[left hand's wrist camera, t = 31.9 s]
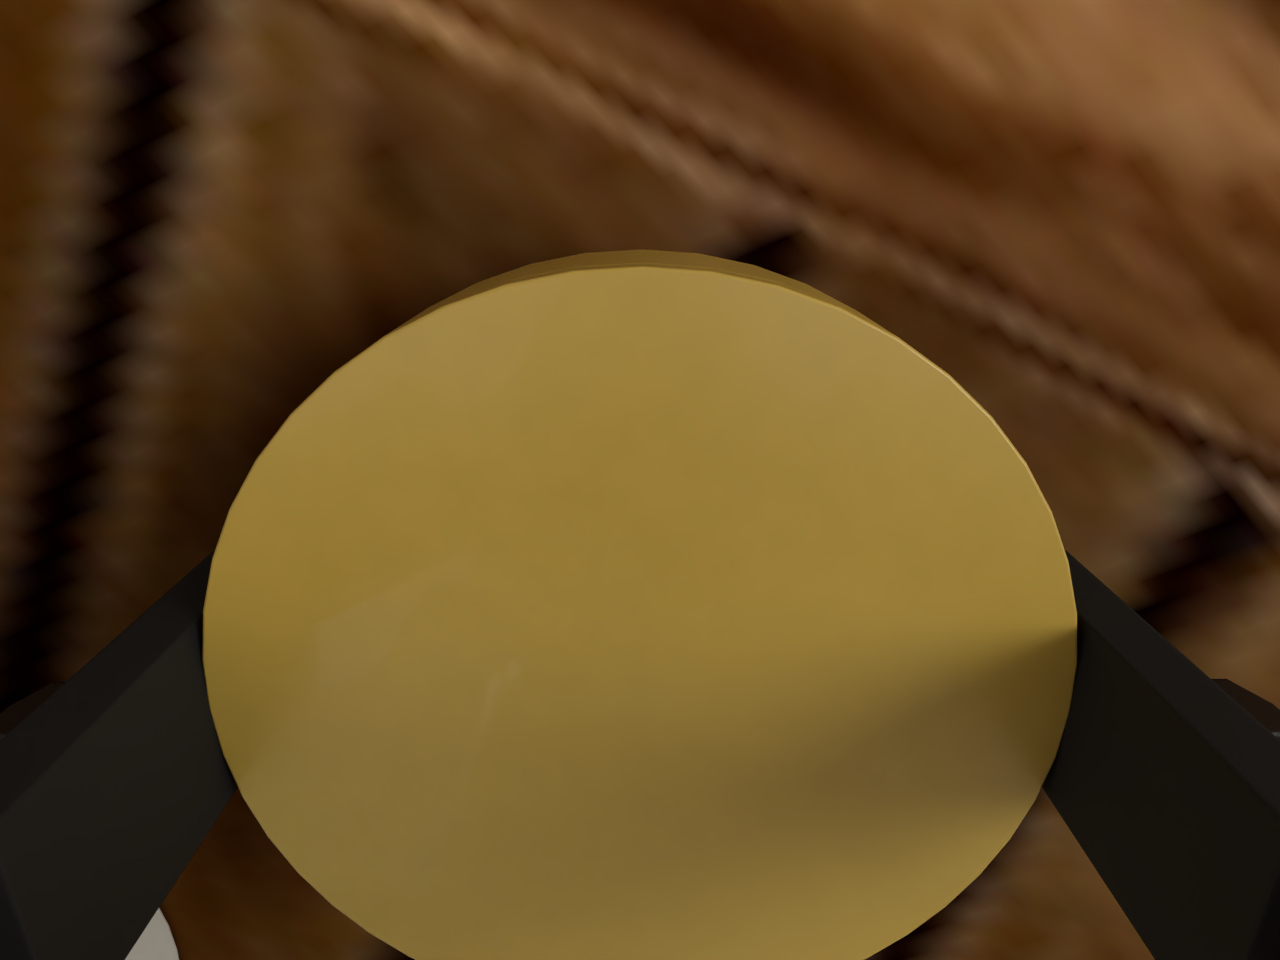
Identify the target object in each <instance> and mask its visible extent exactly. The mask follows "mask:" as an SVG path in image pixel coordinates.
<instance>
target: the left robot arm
mask: <svg viewBox="0 0 1280 960" xmlns="http://www.w3.org/2000/svg"><path fill="white" fill-rule="evenodd" d="M1064 550H1065V549H1064ZM214 552H215V550H214V551H213V552H212V553H211V554H210V555H209V556H207V557H206V558H205V559H204V560H203V561H202V562H201V563H200V564H198V565H197V566H196V567H195V568H194V569H193V570H192V571H191V572H189V573H188V574H187V575H186V576H185V577H184V578H183V579H182V580H180V581H179V582H178V583H177V584H176V585H175V586H174V587H173V588H171V589H170V590H169V591H168V592H167V593H166V594H165V595H164V596H162V597H161V598H160V599H159V600H158V601H157V602H156V603H154V604H153V605H152V606H151V607H150V608H149V609H148V610H147V611H145V612H144V613H143V614H142V615H141V616H140V617H139V618H138V619H136V620H135V621H134V622H133V623H132V624H131V625H130V626H129V627H127V628H126V629H125V630H124V631H123V632H122V633H121V634H120V635H118V636H117V637H116V638H115V639H114V640H113V641H112V642H111V643H109V644H108V645H107V646H106V647H105V648H104V649H103V650H102V651H100V652H99V653H98V654H97V655H96V656H95V657H94V658H93V659H91V660H90V661H89V662H88V663H87V664H86V665H85V666H84V667H82V668H81V669H80V670H79V671H78V672H77V673H76V674H75V675H73V676H72V677H71V678H70V679H69V680H68V681H67V682H53V683H51V684H49V685H47V686H45V687H44V688H42V689H40V690H38V691H36V692H34V693H33V694H31V695H29V696H27V697H25V698H23V699H22V700H20V701H18V702H16V703H14V704H12V705H11V706H9V707H8V708H6V709H5V710H4V711H3V712H2V713H1V714H0V960H125V959H126V957H127V956H128V954H129V953H130V951H131V950H132V948H133V947H134V945H135V944H136V942H137V940H138V939H139V937H140V936H141V934H142V933H143V931H144V930H145V928H146V927H147V925H148V924H149V922H150V921H151V919H152V918H153V916H154V914H155V913H156V911H157V910H158V908H159V907H160V905H161V904H162V902H163V901H164V899H165V898H166V896H167V895H168V893H169V892H170V890H171V889H172V887H173V885H174V884H175V882H176V881H177V879H178V878H179V876H180V875H181V873H182V872H183V870H184V869H185V867H186V866H187V864H188V863H189V861H190V859H191V858H192V856H193V855H194V853H195V852H196V850H197V849H198V847H199V846H200V844H201V843H202V841H203V840H204V838H205V837H206V835H207V834H208V832H209V830H210V829H211V827H212V826H213V824H214V823H215V821H216V820H217V818H218V817H219V815H220V814H221V812H222V811H223V809H224V808H225V806H226V805H227V803H228V801H229V800H230V798H231V797H232V795H233V794H234V792H235V791H236V789H237V788H238V786H237V784H236V782H235V779H234V777H233V775H232V773H231V771H230V769H229V766H228V764H227V762H226V760H225V758H224V756H223V753H222V750H221V746H220V743H219V740H218V736H217V733H216V729H215V726H214V723H213V719H212V715H211V711H210V706H209V701H208V696H207V689H206V682H205V675H204V668H203V661H202V654H203V608H204V602H205V597H206V591H207V585H208V580H209V574H210V568H211V563H212V558H213V555H214ZM1065 553H1066V556H1067V559H1068V562H1069V568H1070V574H1071V580H1072V586H1073V592H1074V598H1075V604H1076V611H1077V667H1076V674H1075V681H1074V687H1073V694H1072V699H1071V704H1070V709H1069V714H1068V718H1067V722H1066V725H1065V729H1064V732H1063V735H1062V738H1061V742H1060V745H1059V748H1058V751H1057V754H1056V757H1055V760H1054V762H1053V764H1052V766H1051V768H1050V770H1049V772H1048V774H1047V776H1046V779H1045V781H1044V783H1043V785H1042V788H1043V789H1044V791H1045V792H1046V794H1047V795H1048V797H1049V798H1050V800H1051V801H1052V803H1053V804H1054V806H1055V807H1056V809H1057V810H1058V812H1059V813H1060V815H1061V817H1062V818H1063V820H1064V821H1065V823H1066V824H1067V826H1068V827H1069V829H1070V830H1071V832H1072V833H1073V835H1074V836H1075V838H1076V839H1077V841H1078V842H1079V844H1080V846H1081V847H1082V849H1083V850H1084V852H1085V853H1086V855H1087V856H1088V858H1089V859H1090V861H1091V862H1092V864H1093V865H1094V867H1095V868H1096V870H1097V872H1098V873H1099V875H1100V876H1101V878H1102V879H1103V881H1104V882H1105V884H1106V885H1107V887H1108V888H1109V890H1110V891H1111V893H1112V894H1113V896H1114V897H1115V899H1116V901H1117V902H1118V904H1119V905H1120V907H1121V908H1122V910H1123V911H1124V913H1125V914H1126V916H1127V917H1128V919H1129V920H1130V922H1131V923H1132V925H1133V927H1134V928H1135V930H1136V931H1137V933H1138V934H1139V936H1140V937H1141V939H1142V940H1143V942H1144V943H1145V945H1146V946H1147V948H1148V949H1149V951H1150V952H1151V954H1152V956H1153V957H1154V959H1155V960H1280V710H1279V709H1278V708H1277V707H1276V706H1274V705H1273V704H1272V703H1270V702H1268V701H1266V700H1265V699H1263V698H1261V697H1259V696H1257V695H1255V694H1254V693H1252V692H1250V691H1248V690H1246V689H1244V688H1242V687H1241V686H1239V685H1237V684H1235V683H1233V682H1231V681H1230V680H1228V679H1210V678H1209V677H1208V676H1207V675H1206V674H1205V673H1203V672H1202V671H1201V670H1200V669H1199V668H1198V667H1197V666H1195V665H1194V664H1193V663H1192V662H1191V661H1190V660H1189V659H1188V658H1186V657H1185V656H1184V655H1183V654H1182V653H1181V652H1180V651H1179V650H1177V649H1176V648H1175V647H1174V646H1173V645H1172V644H1171V643H1170V642H1168V641H1167V640H1166V639H1165V638H1164V637H1163V636H1162V635H1161V634H1159V633H1158V632H1157V631H1156V630H1155V629H1154V628H1153V627H1152V626H1150V625H1149V624H1148V623H1147V622H1146V621H1145V620H1144V619H1143V618H1141V617H1140V616H1139V615H1138V614H1137V613H1136V612H1135V611H1134V610H1132V609H1131V608H1130V607H1129V606H1128V605H1127V604H1126V603H1125V602H1123V601H1122V600H1121V599H1120V598H1119V597H1118V596H1117V595H1115V594H1114V593H1113V592H1112V591H1111V590H1110V589H1109V588H1108V587H1106V586H1105V585H1104V584H1103V583H1102V582H1101V581H1100V580H1099V579H1097V578H1096V577H1095V576H1094V575H1093V574H1092V573H1091V572H1090V571H1088V570H1087V569H1086V568H1085V567H1084V566H1083V565H1082V564H1081V563H1079V562H1078V561H1077V560H1076V559H1075V558H1074V557H1073V556H1072V555H1070V554H1069V553H1068V552H1067V551H1066V550H1065Z"/></svg>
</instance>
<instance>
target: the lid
mask: <svg viewBox="0 0 1280 960" xmlns="http://www.w3.org/2000/svg"><path fill="white" fill-rule="evenodd" d="M202 661H203V668H204V675H205V682H206V689H207V696H208V701H209V706H210V711H211V715H212V719H213V723H214V726H215V729H216V733H217V736H218V740H219V743H220V746H221V750H222V753H223V756H224V758H225V760H226V762H227V764H228V766H229V769H230V771H231V773H232V775H233V777H234V779H235V782H236V784H237V786H238V788H239V790H240V792H241V795H242V797H243V798H244V800H245V802H246V803H247V805H248V806H249V808H250V809H251V811H252V813H253V814H254V816H255V817H256V819H257V820H258V822H259V824H260V825H261V827H262V828H263V830H264V831H265V833H266V835H267V836H268V838H269V839H270V840H271V841H272V842H273V844H274V845H275V846H276V847H277V848H278V850H279V851H280V852H281V853H282V854H283V856H284V857H285V858H286V859H287V860H288V862H289V863H290V864H291V865H292V866H293V868H294V869H295V870H296V871H297V872H298V873H299V874H300V875H301V876H302V877H303V878H304V879H305V880H306V881H307V882H308V883H309V884H310V885H311V886H312V887H313V888H315V889H316V890H317V891H318V892H319V893H320V894H321V895H322V896H323V897H324V898H325V899H326V900H327V901H328V902H329V903H330V904H332V905H333V906H334V907H335V908H337V909H338V910H339V911H341V912H342V913H343V914H345V915H346V916H347V917H349V918H350V919H351V920H353V921H354V922H355V923H357V924H358V925H359V926H361V927H362V928H363V929H365V930H366V931H367V932H369V933H370V934H372V935H374V936H375V937H377V938H379V939H380V940H382V941H384V942H385V943H387V944H389V945H391V946H392V947H394V948H396V949H397V950H399V951H401V952H402V953H404V954H406V955H407V956H409V957H411V958H413V959H415V960H864V959H867V958H868V957H870V956H872V955H873V954H875V953H877V952H879V951H880V950H882V949H884V948H885V947H887V946H889V945H891V944H892V943H894V942H896V941H897V940H899V939H901V938H903V937H904V936H906V935H908V934H909V933H910V932H912V931H913V930H914V929H916V928H917V927H919V926H920V925H921V924H923V923H924V922H925V921H927V920H928V919H929V918H931V917H932V916H933V915H935V914H936V913H938V912H939V911H940V910H942V909H943V908H944V907H946V906H947V905H948V904H949V903H950V902H951V901H952V900H953V899H954V898H955V897H956V896H957V895H958V894H960V893H961V892H962V891H963V890H964V889H965V888H966V887H967V886H968V885H969V884H970V883H971V882H972V881H974V880H975V879H976V878H977V877H978V876H979V875H980V874H981V873H982V871H983V870H984V869H985V868H986V867H987V866H988V864H989V863H990V862H991V861H992V860H993V858H994V857H995V856H996V855H997V854H998V853H999V851H1000V850H1001V849H1002V848H1003V847H1004V846H1005V844H1006V843H1007V842H1008V841H1009V840H1010V838H1011V837H1012V835H1013V834H1014V832H1015V831H1016V829H1017V827H1018V826H1019V824H1020V823H1021V821H1022V820H1023V818H1024V817H1025V815H1026V814H1027V812H1028V810H1029V809H1030V807H1031V806H1032V804H1033V803H1034V801H1035V800H1036V798H1037V796H1038V793H1039V791H1040V789H1041V787H1042V785H1043V783H1044V781H1045V779H1046V776H1047V774H1048V772H1049V770H1050V768H1051V766H1052V764H1053V762H1054V760H1055V757H1056V754H1057V751H1058V748H1059V745H1060V742H1061V738H1062V735H1063V732H1064V729H1065V725H1066V722H1067V718H1068V714H1069V709H1070V704H1071V699H1072V694H1073V687H1074V681H1075V674H1076V667H1077V611H1076V604H1075V598H1074V592H1073V586H1072V580H1071V574H1070V568H1069V562H1068V559H1067V556H1066V553H1065V550H1064V547H1063V544H1062V541H1061V538H1060V535H1059V532H1058V529H1057V526H1056V523H1055V520H1054V517H1053V514H1052V511H1051V509H1050V507H1049V505H1048V503H1047V501H1046V500H1045V498H1044V496H1043V494H1042V492H1041V490H1040V488H1039V486H1038V484H1037V482H1036V480H1035V479H1034V477H1033V475H1032V473H1031V471H1030V469H1029V467H1028V465H1027V463H1026V462H1025V460H1024V459H1023V458H1022V456H1021V455H1020V454H1019V452H1018V451H1017V450H1016V448H1015V447H1014V446H1013V444H1012V443H1011V442H1010V440H1009V439H1008V438H1007V436H1006V435H1005V433H1004V432H1003V431H1002V429H1001V428H1000V427H999V425H998V424H997V423H996V421H995V420H994V419H993V417H992V416H991V415H990V414H989V413H988V412H987V411H986V410H985V409H984V408H983V407H982V406H981V405H980V404H979V403H978V402H977V401H976V400H975V399H974V398H973V397H972V396H971V395H970V394H969V393H968V392H966V391H965V390H964V389H963V388H962V387H961V386H960V385H959V384H958V383H957V382H956V381H955V380H954V379H953V378H952V377H951V376H950V375H949V374H948V373H947V372H945V371H944V370H942V369H941V368H940V367H938V366H937V365H936V364H934V363H933V362H931V361H930V360H929V359H927V358H926V357H925V356H923V355H922V354H920V353H919V352H918V351H916V350H915V349H914V348H912V347H911V346H909V345H908V344H907V343H905V342H904V341H903V340H901V339H900V338H898V337H897V336H895V335H894V334H892V333H890V332H889V331H887V330H886V329H884V328H883V327H881V326H880V325H878V324H876V323H875V322H873V321H872V320H870V319H869V318H867V317H865V316H864V315H862V314H861V313H859V312H858V311H856V310H855V309H853V308H851V307H849V306H847V305H845V304H843V303H841V302H839V301H838V300H836V299H834V298H832V297H830V296H828V295H826V294H824V293H822V292H820V291H819V290H817V289H815V288H813V287H811V286H809V285H807V284H805V283H802V282H799V281H797V280H794V279H791V278H788V277H785V276H783V275H780V274H777V273H774V272H772V271H769V270H766V269H763V268H761V267H758V266H755V265H751V264H746V263H741V262H737V261H732V260H727V259H723V258H718V257H713V256H708V255H704V254H699V253H685V252H672V251H658V250H644V249H640V250H624V251H608V252H592V253H582V254H577V255H572V256H567V257H562V258H558V259H553V260H548V261H543V262H538V263H533V264H529V265H526V266H523V267H520V268H517V269H514V270H511V271H509V272H506V273H503V274H500V275H497V276H494V277H491V278H489V279H486V280H483V281H480V282H477V283H475V284H473V285H471V286H469V287H467V288H465V289H464V290H462V291H460V292H458V293H456V294H454V295H452V296H450V297H448V298H446V299H444V300H442V301H440V302H438V303H436V304H434V305H432V306H431V307H429V308H427V309H426V310H424V311H422V312H421V313H419V314H418V315H416V316H415V317H413V318H412V319H410V320H408V321H407V322H405V323H404V324H402V325H401V326H399V327H397V328H396V329H394V330H393V331H391V332H390V333H388V334H387V335H385V336H384V337H382V338H381V339H379V340H378V341H377V342H375V343H374V344H372V345H371V346H370V347H368V348H367V349H365V350H364V351H363V352H361V353H360V354H358V355H357V356H356V357H354V358H353V359H351V360H350V361H349V362H347V363H346V364H344V365H343V366H342V367H340V368H339V369H337V370H336V371H335V372H333V373H332V374H331V375H330V376H329V377H328V378H327V379H326V380H325V381H324V382H323V383H322V384H321V385H320V386H319V387H318V388H317V389H316V390H315V391H314V392H313V393H312V394H311V395H310V396H309V397H307V398H306V399H305V400H304V401H303V402H302V403H301V404H300V405H299V406H298V407H297V408H296V409H295V410H294V411H293V412H292V413H291V414H290V415H289V417H288V418H287V419H286V421H285V422H284V423H283V424H282V426H281V427H280V428H279V430H278V431H277V432H276V434H275V435H274V436H273V438H272V439H271V440H270V442H269V443H268V444H267V446H266V447H265V448H264V449H263V451H262V452H261V453H260V455H259V456H258V457H257V459H256V460H255V462H254V464H253V466H252V468H251V469H250V471H249V473H248V475H247V477H246V479H245V481H244V482H243V484H242V486H241V488H240V490H239V492H238V494H237V495H236V497H235V499H234V501H233V503H232V505H231V507H230V509H229V511H228V514H227V517H226V520H225V523H224V526H223V529H222V532H221V535H220V537H219V540H218V543H217V546H216V549H215V552H214V555H213V558H212V563H211V568H210V574H209V580H208V585H207V591H206V597H205V602H204V608H203V654H202Z"/></svg>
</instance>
